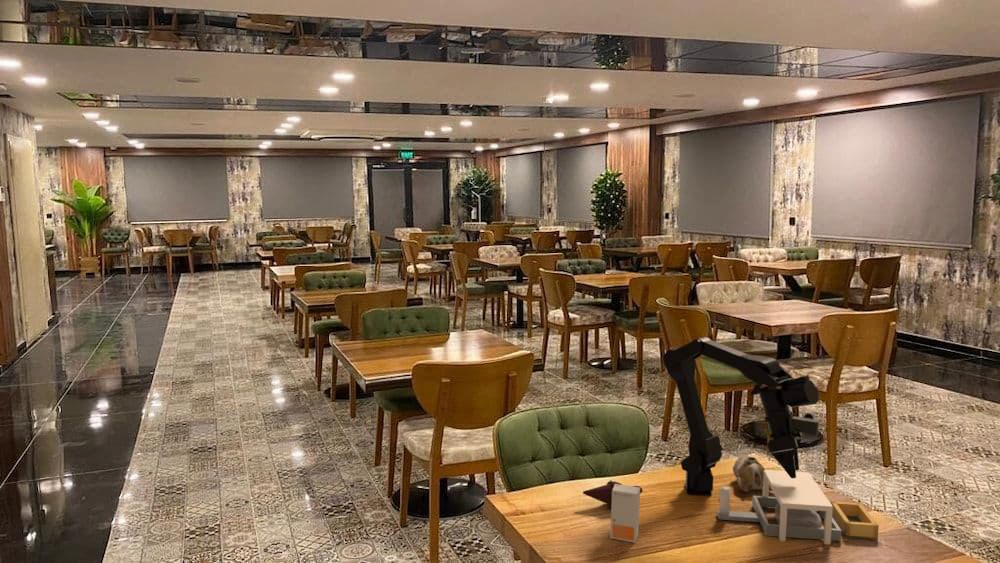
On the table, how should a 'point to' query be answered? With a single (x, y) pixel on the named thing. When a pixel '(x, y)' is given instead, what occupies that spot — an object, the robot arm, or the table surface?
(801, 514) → the stone block
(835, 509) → the tan wooden open box
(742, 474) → the ceramic sculpture
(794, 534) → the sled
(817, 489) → the white miniature table
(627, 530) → the skincare box
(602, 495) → the icecream
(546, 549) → the table surface
